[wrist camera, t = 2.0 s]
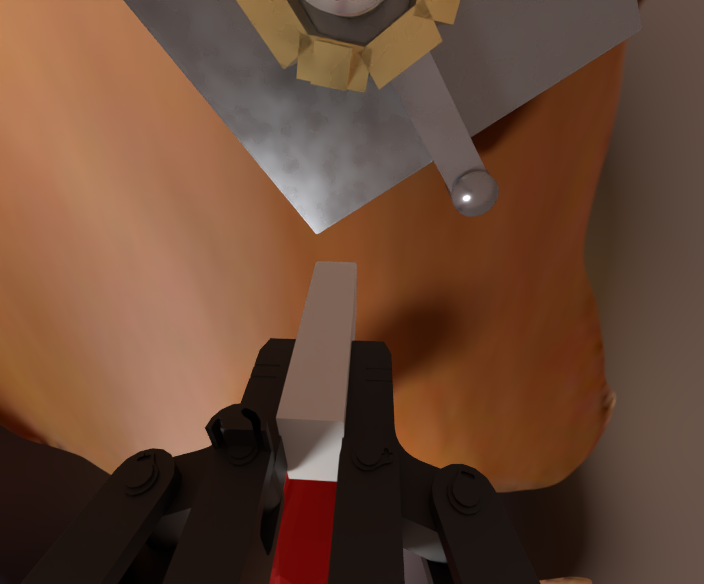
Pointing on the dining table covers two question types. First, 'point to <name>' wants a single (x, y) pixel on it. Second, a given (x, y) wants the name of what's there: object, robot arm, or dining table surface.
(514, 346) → the dining table surface
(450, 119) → the ring nut
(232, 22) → the housing
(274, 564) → the water bottle
